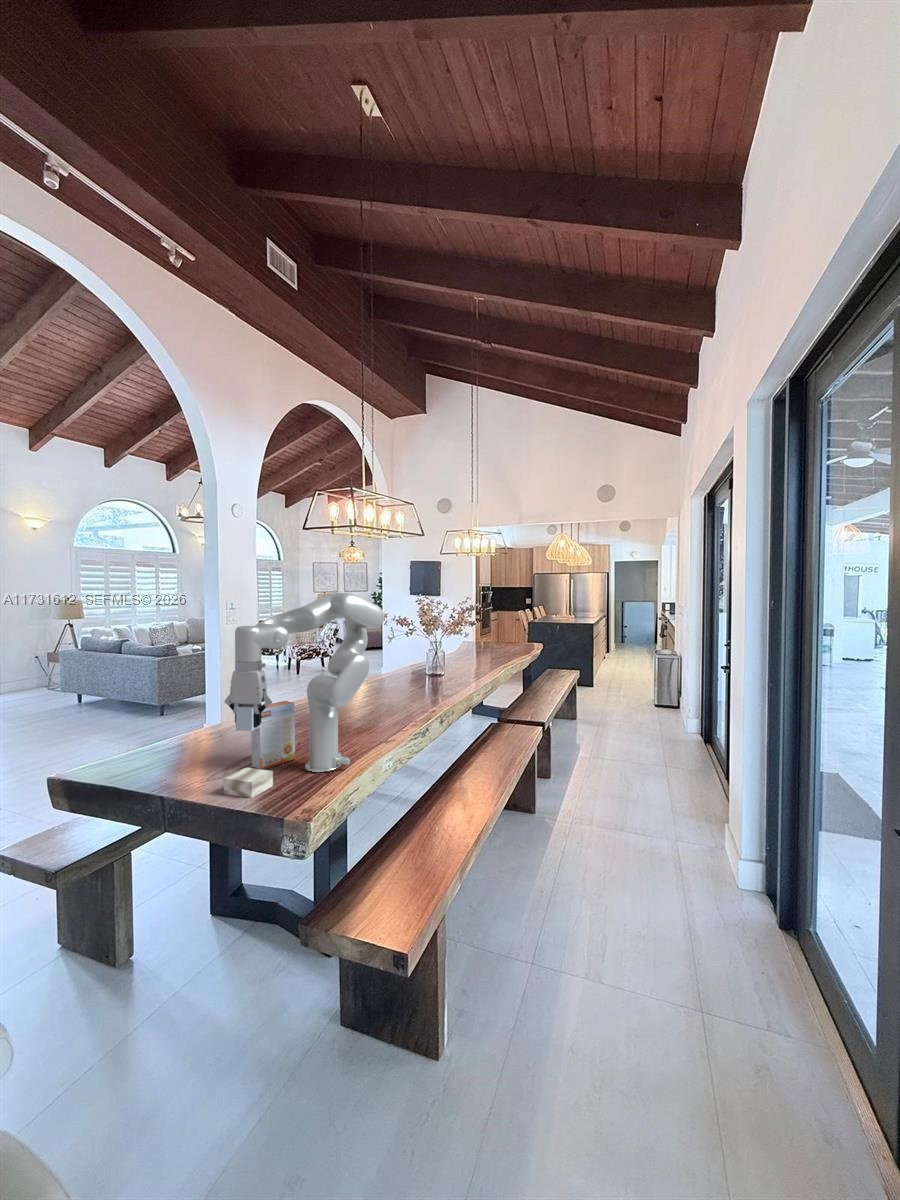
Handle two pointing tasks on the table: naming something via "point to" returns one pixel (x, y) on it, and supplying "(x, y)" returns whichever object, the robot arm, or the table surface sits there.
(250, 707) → the blue-grey block
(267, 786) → the ash base block
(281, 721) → the cracker box
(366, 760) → the table surface
